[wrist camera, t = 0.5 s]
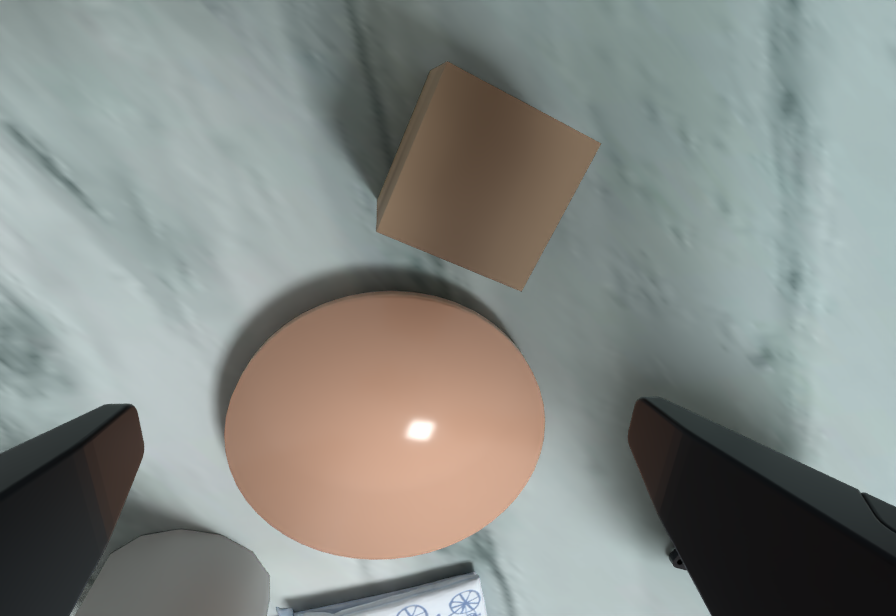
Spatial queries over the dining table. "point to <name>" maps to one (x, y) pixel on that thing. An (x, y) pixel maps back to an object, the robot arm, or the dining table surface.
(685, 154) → the dining table surface
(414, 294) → the salmon pink disc
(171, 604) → the cup
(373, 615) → the patterned cloth
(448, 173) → the walnut block
